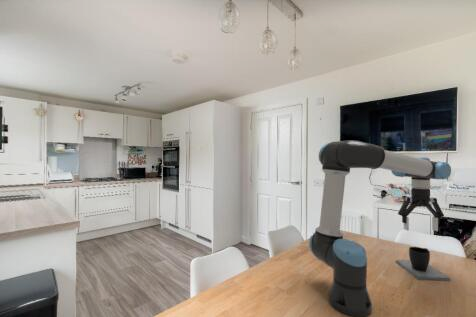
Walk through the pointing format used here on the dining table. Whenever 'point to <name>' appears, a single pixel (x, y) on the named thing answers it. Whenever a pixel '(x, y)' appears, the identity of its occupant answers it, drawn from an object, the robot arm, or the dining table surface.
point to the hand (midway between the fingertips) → (420, 230)
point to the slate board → (423, 272)
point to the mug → (419, 258)
